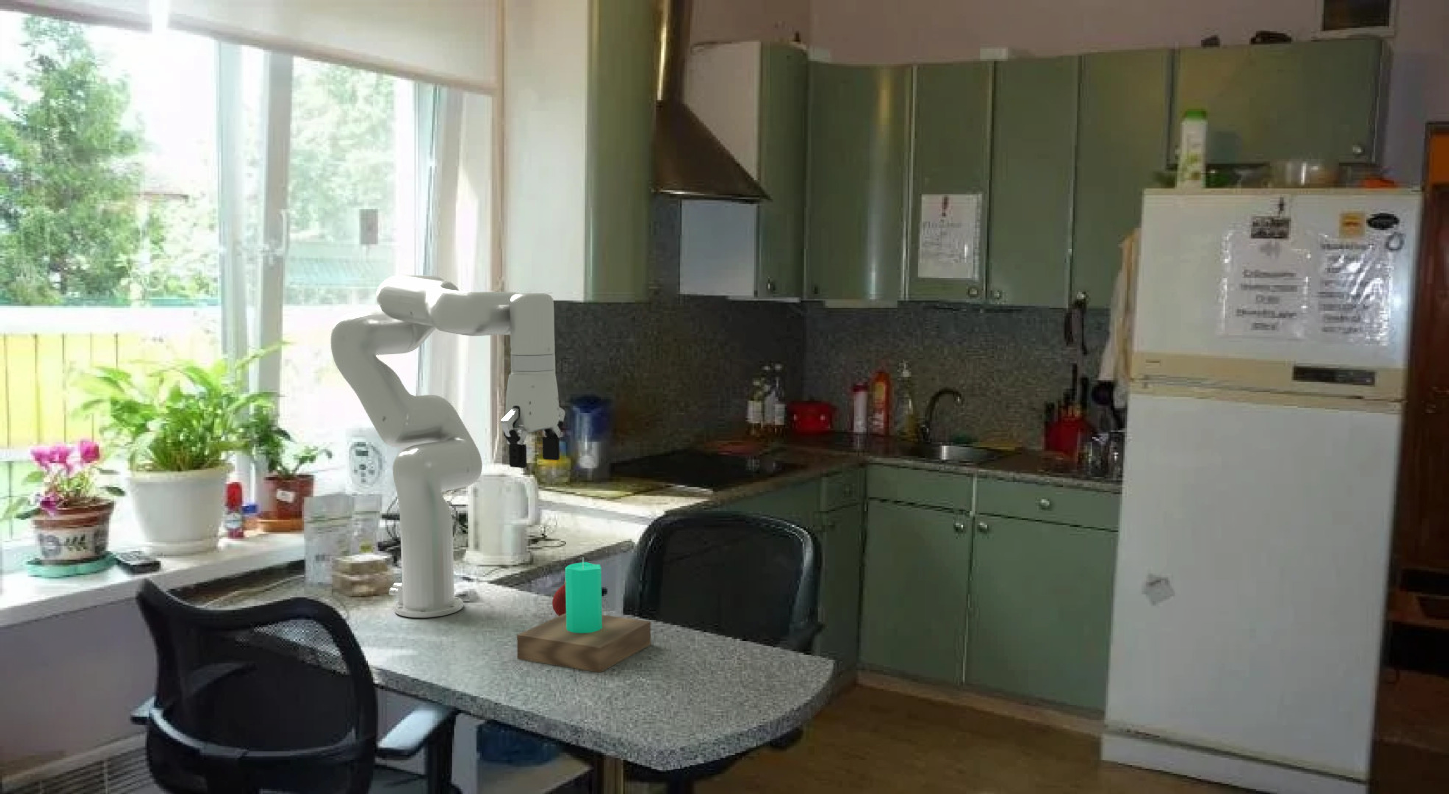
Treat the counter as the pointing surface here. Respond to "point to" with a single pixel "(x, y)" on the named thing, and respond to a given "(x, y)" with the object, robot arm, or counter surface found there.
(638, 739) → the counter surface
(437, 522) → the robot arm
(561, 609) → the onion
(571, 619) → the candle
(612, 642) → the walnut base
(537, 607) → the counter surface
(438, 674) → the counter surface
